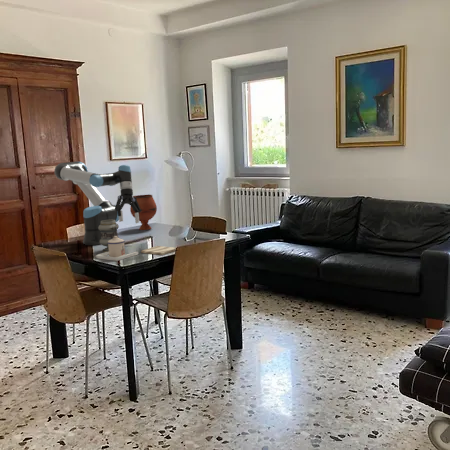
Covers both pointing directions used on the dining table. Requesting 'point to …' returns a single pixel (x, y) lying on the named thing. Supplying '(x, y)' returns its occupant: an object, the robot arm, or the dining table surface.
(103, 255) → the cup dock
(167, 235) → the dining table surface
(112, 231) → the apothecary jar
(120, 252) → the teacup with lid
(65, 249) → the dining table surface
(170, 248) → the oak board
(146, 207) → the goblet
